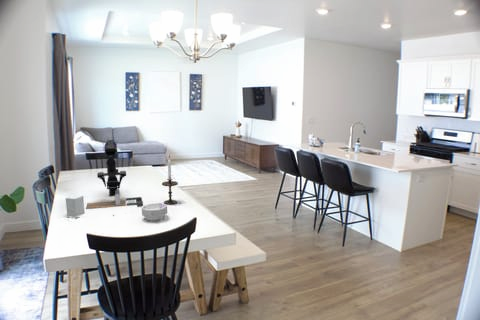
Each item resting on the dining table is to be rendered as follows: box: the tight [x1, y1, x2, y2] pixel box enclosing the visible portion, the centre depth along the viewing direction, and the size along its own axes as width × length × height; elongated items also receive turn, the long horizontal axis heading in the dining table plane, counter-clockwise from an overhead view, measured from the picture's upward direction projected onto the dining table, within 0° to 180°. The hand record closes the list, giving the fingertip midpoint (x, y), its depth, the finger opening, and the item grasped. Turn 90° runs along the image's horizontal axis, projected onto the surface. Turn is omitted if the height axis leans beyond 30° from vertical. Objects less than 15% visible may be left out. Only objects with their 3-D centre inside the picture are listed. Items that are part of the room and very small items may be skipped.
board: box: [85, 199, 127, 210], centre depth 245 cm, size 14×25×2 cm, turn 109°
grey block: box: [114, 188, 121, 207], centre depth 247 cm, size 10×3×9 cm, turn 19°
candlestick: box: [161, 154, 179, 206], centre depth 252 cm, size 11×11×35 cm
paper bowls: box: [141, 202, 168, 222], centre depth 221 cm, size 15×15×8 cm
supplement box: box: [65, 194, 86, 220], centre depth 224 cm, size 7×7×13 cm
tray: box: [125, 196, 144, 208], centre depth 251 cm, size 14×11×3 cm
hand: (112, 186), depth 252 cm, fingers open, 9 cm apart
